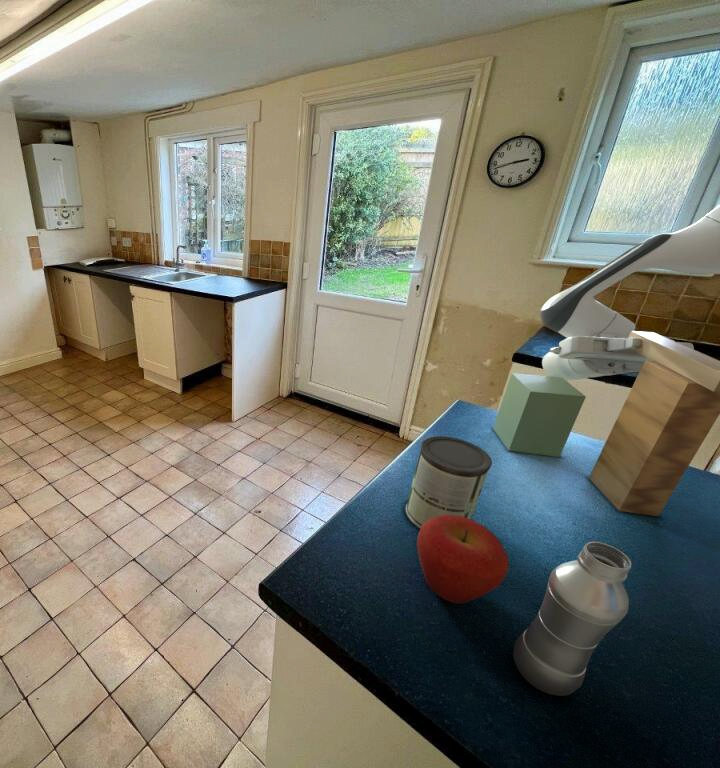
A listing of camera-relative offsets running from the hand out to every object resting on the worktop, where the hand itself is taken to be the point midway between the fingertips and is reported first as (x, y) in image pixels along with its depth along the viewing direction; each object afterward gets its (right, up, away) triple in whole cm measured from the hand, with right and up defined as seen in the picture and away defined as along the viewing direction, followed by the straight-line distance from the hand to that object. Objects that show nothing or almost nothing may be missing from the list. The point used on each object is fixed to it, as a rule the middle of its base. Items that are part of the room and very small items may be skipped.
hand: (653, 343), depth 76 cm
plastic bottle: (-41, -43, -25) cm, 65 cm away
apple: (-47, -38, -15) cm, 62 cm away
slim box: (-2, -5, -5) cm, 7 cm away
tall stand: (-2, -29, +4) cm, 29 cm away
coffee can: (-41, -32, -1) cm, 52 cm away
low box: (-8, -21, +21) cm, 31 cm away
